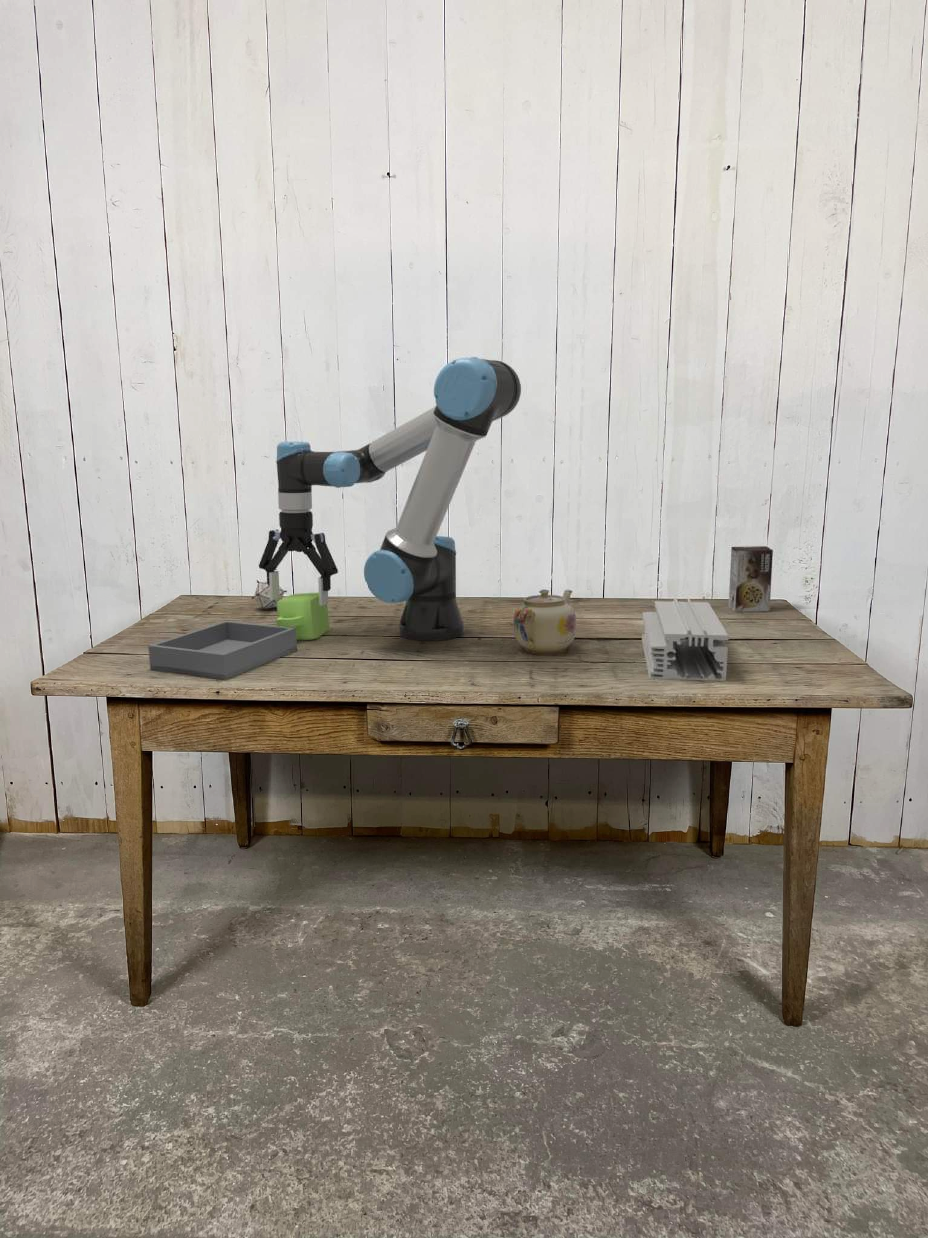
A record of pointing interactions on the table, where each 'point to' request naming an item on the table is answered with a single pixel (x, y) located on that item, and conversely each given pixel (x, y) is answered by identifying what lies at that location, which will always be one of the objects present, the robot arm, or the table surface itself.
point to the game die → (266, 596)
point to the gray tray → (222, 649)
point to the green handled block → (303, 615)
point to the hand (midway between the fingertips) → (299, 601)
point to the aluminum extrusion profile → (684, 642)
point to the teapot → (545, 623)
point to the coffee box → (750, 579)
